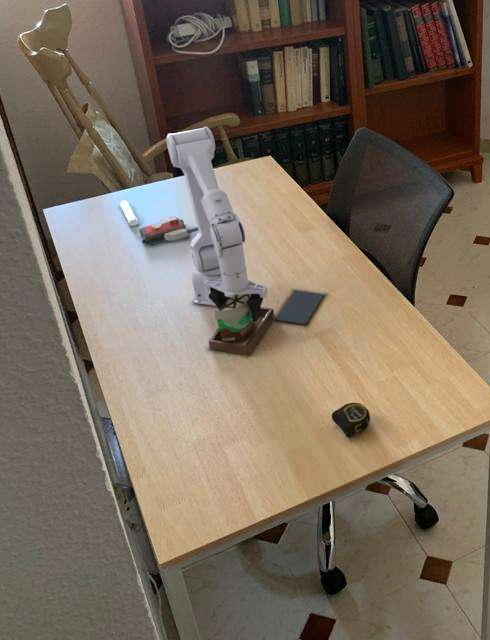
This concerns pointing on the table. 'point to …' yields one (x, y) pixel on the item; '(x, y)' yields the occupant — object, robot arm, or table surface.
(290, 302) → the rubber mat
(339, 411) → the tape measure
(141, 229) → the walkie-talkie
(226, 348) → the walnut tray
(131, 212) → the marker
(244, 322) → the food container
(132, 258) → the table surface
